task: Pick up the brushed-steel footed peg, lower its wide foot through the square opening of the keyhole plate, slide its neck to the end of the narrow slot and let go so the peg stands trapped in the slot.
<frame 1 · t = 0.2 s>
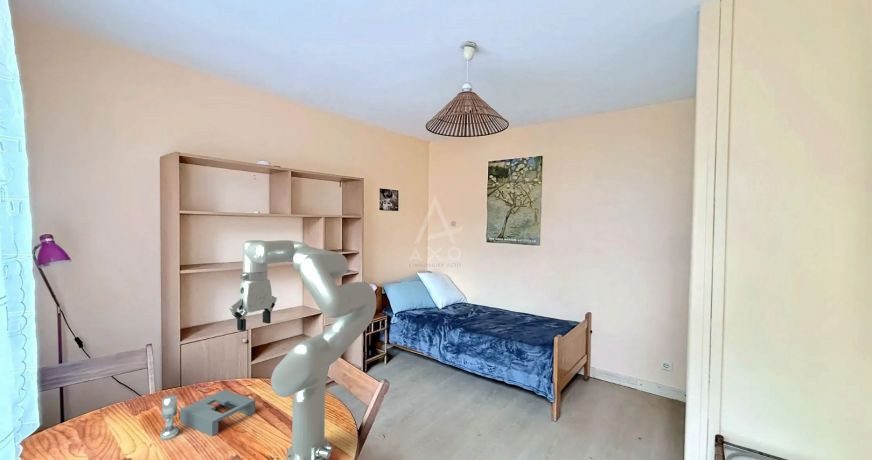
hand: (254, 326, 117), 36 cm above the table, tool pointing down, fingers open, 9 cm apart
keyhole plate: (218, 417, 126), on the table
steel peg: (169, 435, 115), on the table
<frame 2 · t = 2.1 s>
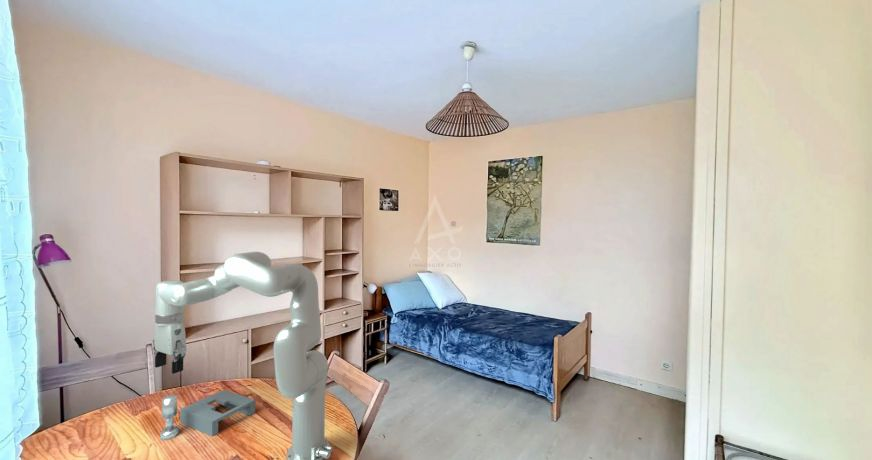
hand: (168, 369, 115), 23 cm above the table, tool pointing down, fingers open, 9 cm apart
nothing on the table moved.
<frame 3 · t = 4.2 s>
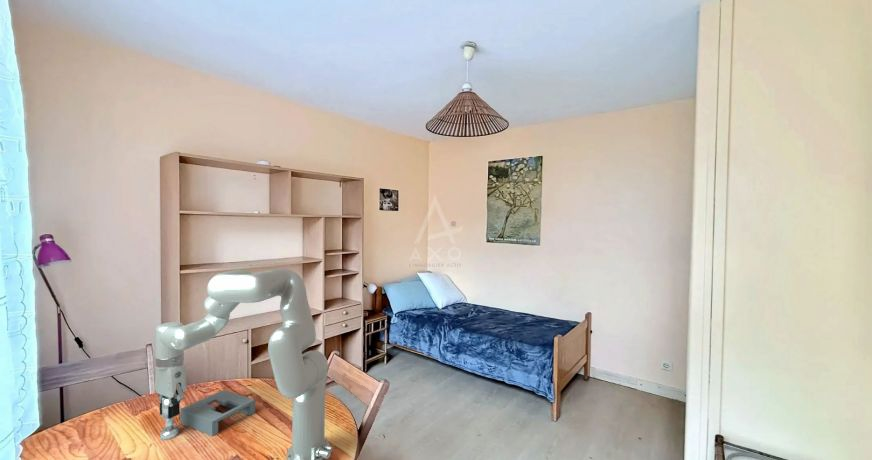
hand: (169, 414, 115), 7 cm above the table, tool pointing down, fingers closed on steel peg, 4 cm apart
steel peg: (169, 435, 115), on the table, touching gripper
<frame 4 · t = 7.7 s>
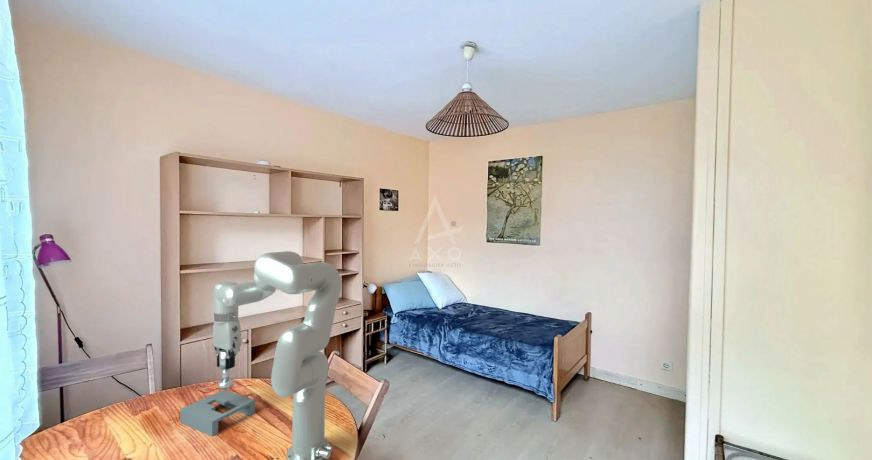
hand: (225, 366, 125), 20 cm above the table, tool pointing down, fingers closed on steel peg, 4 cm apart
steel peg: (225, 386, 125), point 12 cm above the table, touching gripper
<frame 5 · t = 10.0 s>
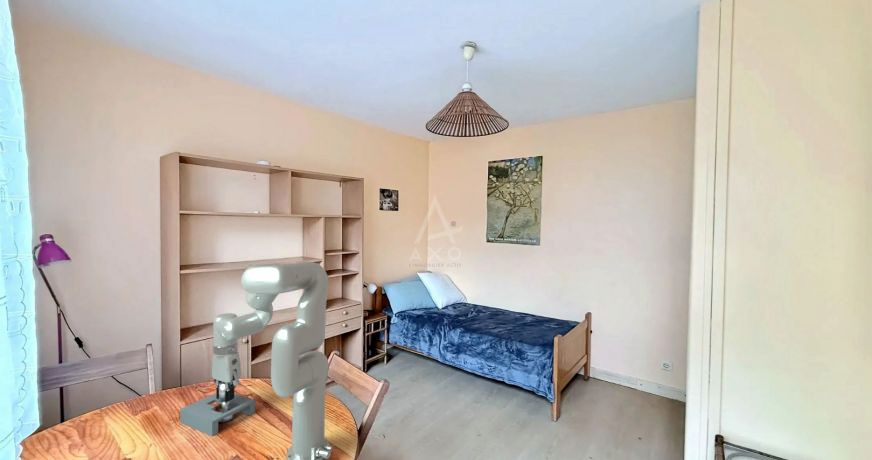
hand: (225, 398, 125), 8 cm above the table, tool pointing down, fingers closed on steel peg, 4 cm apart
steel peg: (225, 418, 125), point 1 cm above the table, touching gripper
when the fingers open (8 cm above the table, at t = 11.7 s): steel peg stays where it is, on the table.
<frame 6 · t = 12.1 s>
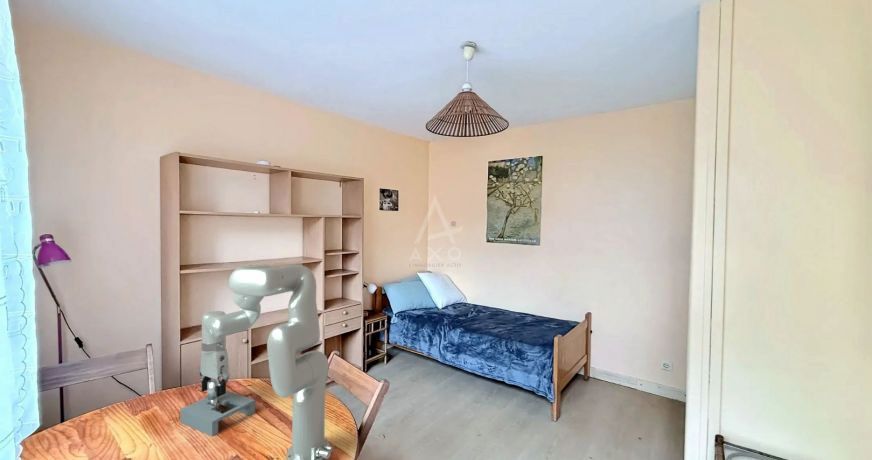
hand: (213, 392, 128), 9 cm above the table, tool pointing down, fingers open, 8 cm apart
steel peg: (213, 415, 128), on the table
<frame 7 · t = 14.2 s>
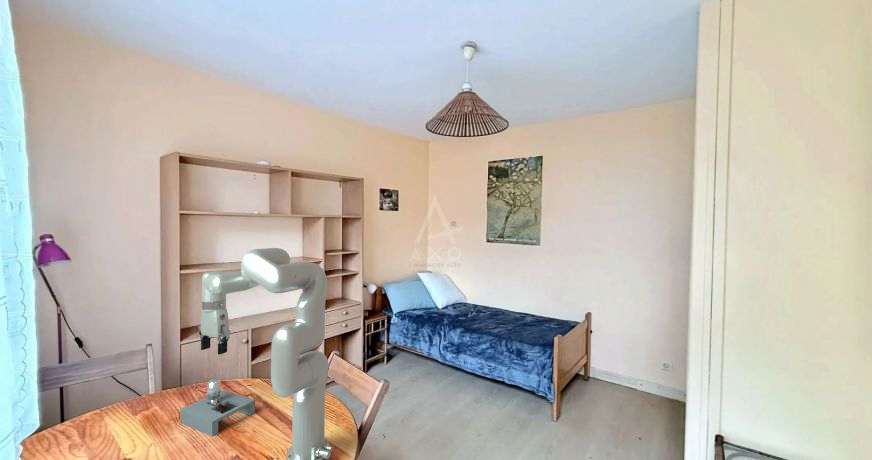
hand: (213, 351, 127), 24 cm above the table, tool pointing down, fingers open, 9 cm apart
nothing on the table moved.
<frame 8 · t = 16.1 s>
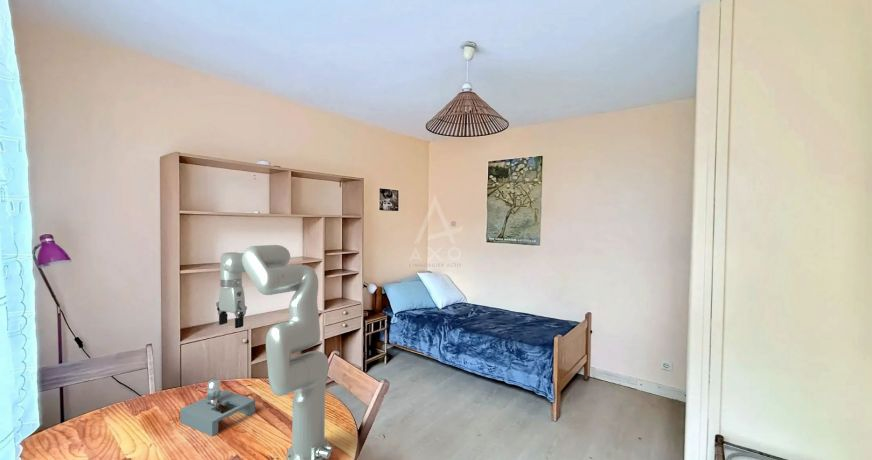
hand: (231, 325, 138), 30 cm above the table, tool pointing down, fingers open, 9 cm apart
nothing on the table moved.
at the end: steel peg 0.1 cm from the target spot on the keyhole plate, point 0.0 cm above the keyhole plate's base; steel peg tilted 0°; the gripper is holding nothing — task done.
